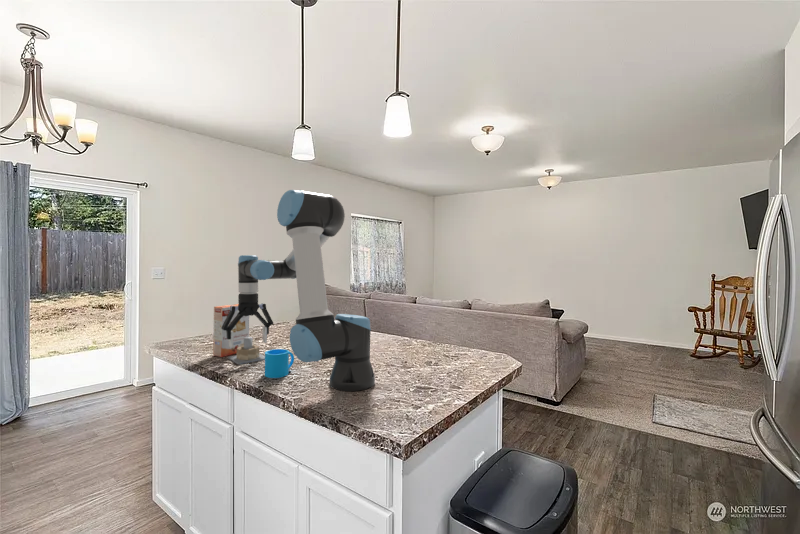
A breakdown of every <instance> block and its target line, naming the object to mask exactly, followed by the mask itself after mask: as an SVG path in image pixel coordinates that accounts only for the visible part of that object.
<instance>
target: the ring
mask: <svg viewBox="0 0 800 534" xmlns="http://www.w3.org/2000/svg"><path fill="white" fill-rule="evenodd" d="M259 353H260V346H258V345H256V344H253V348H252V349H244V346H240V347H238V348H237V353H236V355H237V359H239V360H250V359H256V358H258V357H259Z"/></svg>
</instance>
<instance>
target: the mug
mask: <svg viewBox="0 0 800 534" xmlns="http://www.w3.org/2000/svg"><path fill="white" fill-rule="evenodd" d="M264 356H265V360H264V376H265V377H266V378H268V379H269V378H270V379H280V378H284V377H287V376H288V375H289V372H290V371H289V370H290V368H291V367H292V366H293V364H294V361H295V356H294V353H292V352H291V351H289V350H288V349H285V348H283V349H282V348H277V349H276V348H275V349H268V350H266V351H265V352H264ZM289 358H290V359H289Z"/></svg>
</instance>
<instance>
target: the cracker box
mask: <svg viewBox="0 0 800 534" xmlns="http://www.w3.org/2000/svg"><path fill="white" fill-rule="evenodd" d="M238 304H239V303H237V304H226V305H218V306H217V305H216V306H213V332H212V334H213V335H212V336H213V337H212V338H213V340H212V341H213V347H212V349H213V350H212V351H213V353H212V355H213V356H215V357H219V358H223V357H229V356H233V355H237V348H238V347H240V346H244V338H245V337H250V315H249V316H243V317H242V318H241V319H240V320H239V321H238V323H237V324H236V325H235V326H234V328H233V329H232V330H231V331H233V348H231V347H229V339H227V331H226V330H222V329H221V328H222V326H223V324H224V322H225V320H226V317H227V315H228V313H229V311H230V306H238ZM238 313H239V310H238V309H237V310H236V311H235V313H234V315H233V317H232V319H231V321H230V323H231V322H232V321H233V320H234V318H235V317H236V316H237V314H238ZM230 323H229V325H230ZM229 325H228V326H229Z"/></svg>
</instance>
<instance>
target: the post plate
mask: <svg viewBox="0 0 800 534" xmlns="http://www.w3.org/2000/svg"><path fill="white" fill-rule="evenodd" d="M253 339H254V338H253V337H252V336H249V337H245V338H244V349H252V348H253V345H254V344H253V342H254V341H253ZM227 359H229V360H230V361H232V362H233V363H235V364H236V365H239V366H240V365H243V364H250V363H255V362H260V361H265V354H264V355H263V354H262V353H260V352H259V357H258V358H256V359H250V360H239V359H237V354H234V355H228V356H227Z"/></svg>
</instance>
